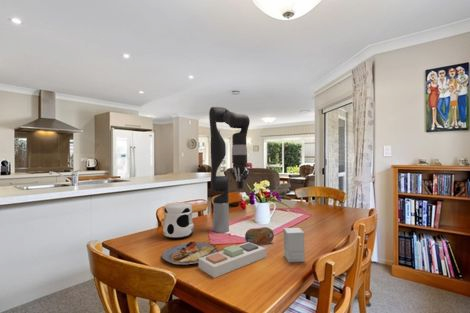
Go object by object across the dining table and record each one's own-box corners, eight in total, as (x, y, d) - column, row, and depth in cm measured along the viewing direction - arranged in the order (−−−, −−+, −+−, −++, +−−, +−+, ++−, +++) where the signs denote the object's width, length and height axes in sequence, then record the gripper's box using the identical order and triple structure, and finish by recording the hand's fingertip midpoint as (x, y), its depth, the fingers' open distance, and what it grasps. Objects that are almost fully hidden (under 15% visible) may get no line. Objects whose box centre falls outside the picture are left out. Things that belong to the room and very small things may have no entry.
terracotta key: (206, 264, 101) (205, 256, 101) (218, 260, 105) (217, 253, 105) (214, 269, 96) (214, 261, 96) (226, 264, 100) (226, 257, 100)
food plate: (194, 242, 132) (194, 235, 132) (227, 253, 117) (227, 245, 117) (152, 259, 113) (151, 251, 112) (185, 275, 98) (185, 266, 98)
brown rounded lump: (246, 246, 125) (246, 230, 125) (244, 244, 128) (244, 228, 128) (274, 243, 129) (273, 227, 129) (271, 241, 132) (271, 225, 132)
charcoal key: (239, 252, 113) (239, 246, 113) (249, 249, 117) (249, 242, 117) (248, 256, 108) (248, 249, 108) (258, 252, 112) (258, 246, 112)
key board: (198, 268, 102) (198, 258, 102) (248, 250, 120) (248, 242, 120) (214, 277, 93) (214, 267, 93) (265, 257, 111) (265, 248, 111)
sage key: (223, 255, 107) (223, 248, 107) (234, 251, 111) (234, 244, 111) (232, 259, 102) (232, 252, 102) (243, 255, 106) (243, 248, 106)
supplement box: (300, 255, 113) (299, 227, 113) (305, 262, 106) (304, 232, 106) (283, 255, 113) (283, 227, 113) (287, 262, 106) (287, 232, 106)
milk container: (160, 234, 148) (159, 203, 148) (189, 229, 155) (188, 200, 155) (166, 243, 132) (166, 209, 132) (198, 237, 140) (197, 205, 140)
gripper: (225, 154, 128) (226, 188, 128) (242, 153, 118) (243, 190, 118) (236, 154, 133) (237, 186, 133) (254, 153, 123) (254, 189, 123)
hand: (240, 188), depth 125 cm, fingers closed
